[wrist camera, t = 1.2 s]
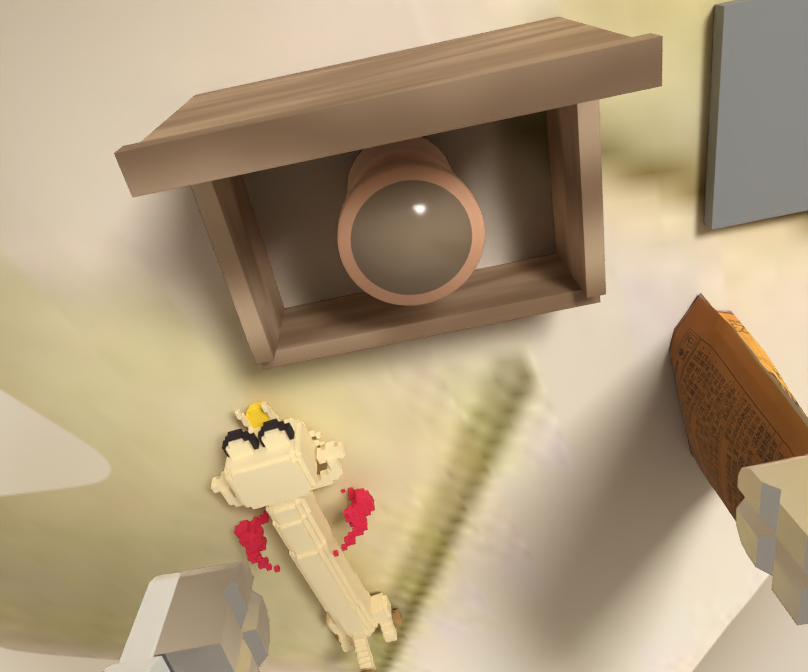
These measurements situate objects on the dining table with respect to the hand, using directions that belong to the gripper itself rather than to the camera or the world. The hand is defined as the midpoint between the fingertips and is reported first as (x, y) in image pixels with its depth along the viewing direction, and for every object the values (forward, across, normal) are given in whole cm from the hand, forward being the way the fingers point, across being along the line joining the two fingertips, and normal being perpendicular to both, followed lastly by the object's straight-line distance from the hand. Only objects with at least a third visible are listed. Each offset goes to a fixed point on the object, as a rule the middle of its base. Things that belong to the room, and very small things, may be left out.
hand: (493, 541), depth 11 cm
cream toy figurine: (+31, +11, +25) cm, 41 cm away
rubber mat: (+29, -23, +1) cm, 37 cm away
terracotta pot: (+29, 0, +1) cm, 29 cm away
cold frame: (+29, 0, +1) cm, 29 cm away
